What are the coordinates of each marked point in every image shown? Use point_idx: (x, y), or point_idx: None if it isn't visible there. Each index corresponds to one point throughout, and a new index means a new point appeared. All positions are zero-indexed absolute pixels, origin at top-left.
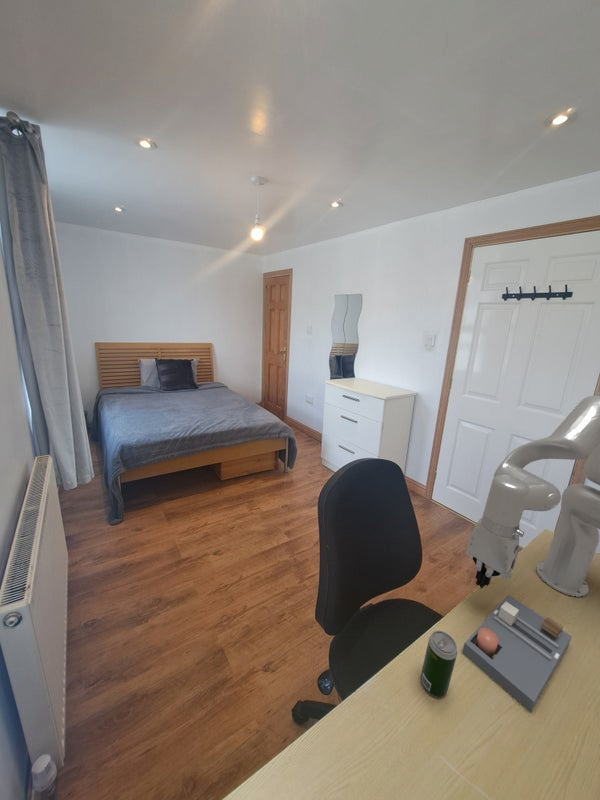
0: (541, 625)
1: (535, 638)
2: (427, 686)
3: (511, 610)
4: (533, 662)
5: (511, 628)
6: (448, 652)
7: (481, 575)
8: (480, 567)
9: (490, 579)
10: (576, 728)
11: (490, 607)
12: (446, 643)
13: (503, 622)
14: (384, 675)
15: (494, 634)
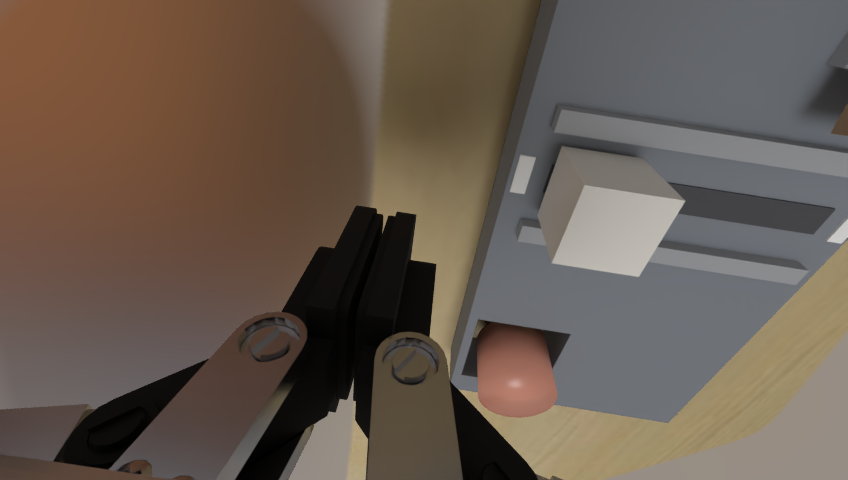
0: (845, 133)
1: (747, 195)
2: None
3: (624, 243)
4: (697, 322)
5: None
6: None
7: (350, 386)
8: (287, 466)
9: (431, 308)
10: (784, 351)
11: (482, 50)
12: None
13: None
14: (350, 459)
15: (538, 381)
